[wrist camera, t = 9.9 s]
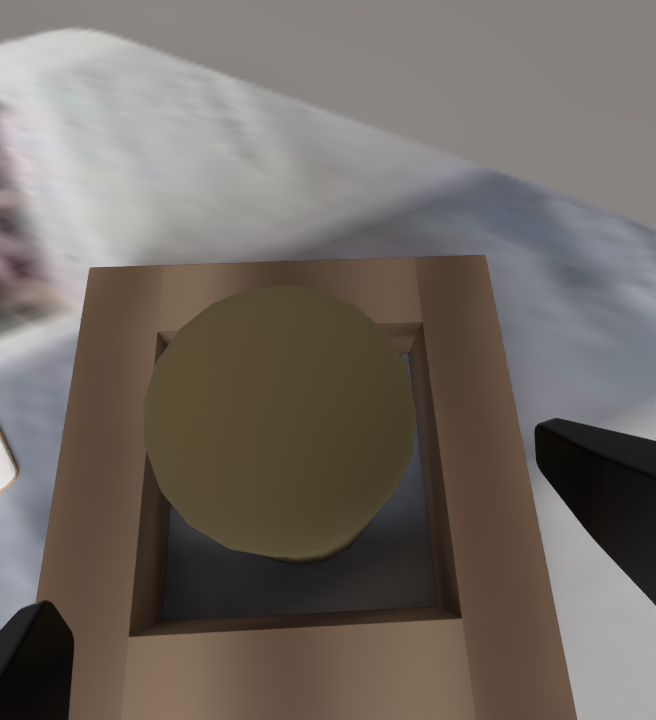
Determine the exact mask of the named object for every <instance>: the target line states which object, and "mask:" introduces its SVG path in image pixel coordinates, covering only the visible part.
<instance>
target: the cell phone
mask: <svg viewBox="0 0 656 720" xmlns="http://www.w3.org/2000/svg"><path fill="white" fill-rule="evenodd" d="M17 476H18V469H17V467H16V464H15V462H14V460H13V458H12V456H11V453H10V451H9V449H8V447H7V445H6V442H5V440H4V438H3V436H2V434H1V431H0V491H2V490H4V489H5V488H6V487H8V486H9V485H10V484H12V483H13V482H14V481H15V480H16V478H17Z"/></svg>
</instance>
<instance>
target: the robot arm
mask: <svg viewBox="0 0 656 720" xmlns="http://www.w3.org/2000/svg"><path fill="white" fill-rule="evenodd" d="M534 434H535V452H536V462H537V465H538V467H539V469H540V471H541V472H542V474H543V475H544V476H545V478H546V479H547V480H548V482H549V483H550V484H551V485H552V487H553V488H554V489H555V491H556V492H557V493H558V495H559V496H560V497H561V498H562V500H563V501H564V502H565V504H566V505H567V506H568V507H569V509H570V510H571V511H572V513H573V514H574V515H575V517H576V518H577V519H578V520H579V522H580V523H581V524H582V526H583V527H584V528H585V529H586V531H587V532H588V533H589V534H590V535H591V537H592V538H593V539H594V540H595V541H596V542H597V543H598V544H599V546H600V547H601V548H602V549H603V550H604V551H605V552H606V553H607V554H608V555H609V556H610V557H611V558H612V559H613V560H614V562H615V563H616V564H617V565H618V566H619V567H620V568H621V569H622V570H623V571H624V572H625V573H626V574H627V575H628V576H629V577H630V579H631V580H632V581H633V582H634V583H635V584H636V585H637V586H638V587H639V588H640V589H641V590H642V591H643V592H644V593H645V594H646V595H647V597H648V598H649V599H650V600H651V601H652V602H653V603H654V604H655V605H656V441H654V440H650V439H645V438H641V437H637V436H632V435H628V434H624V433H620V432H615V431H611V430H607V429H602V428H598V427H594V426H589V425H585V424H581V423H577V422H572V421H568V420H564V419H559V418H554V419H550V420H548V421H545V422H542V423H539V424H538V425H537V426H536V427H535V432H534ZM73 659H74V637H73V633H72V631H71V629H70V628H69V626H68V625H67V623H66V622H65V620H64V619H63V617H62V616H61V614H60V613H59V611H58V610H57V608H56V607H55V605H54V604H53V603H52V602H50V601H48V600H43V601H40V602H37V603H34V604H31V605H29V606H26V607H24V608H22V609H20V610H19V611H18V612H17V613H16V614H15V615H14V616H13V617H12V618H11V619H10V620H9V621H8V623H7V624H6V625H5V626H4V627H3V628H2V629H1V630H0V720H69V711H70V698H71V685H72V672H73Z"/></svg>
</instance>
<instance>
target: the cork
mask: <svg viewBox="0 0 656 720" xmlns="http://www.w3.org/2000/svg"><path fill="white" fill-rule="evenodd" d="M416 414H417V412H416V407H415V402H414V398H413V393H412V389H411V385H410V380H409V376H408V371H407V367H406V364H405V363H404V361H403V359H402V358H401V356H400V354H399V353H398V351H397V349H396V348H395V346H394V344H393V343H392V341H391V339H390V338H389V336H388V334H387V333H386V331H384V330H383V329H382V328H381V327H380V326H379V325H378V324H377V323H375V322H374V321H373V320H372V319H371V318H370V317H369V316H368V315H366V314H365V313H364V312H363V311H362V310H361V309H360V308H359V307H357V306H355V305H353V304H351V303H349V302H346V301H344V300H342V299H340V298H338V297H336V296H333V295H331V294H329V293H327V292H325V291H322V290H315V289H309V288H302V287H295V286H289V285H279V286H270V287H262V288H254V289H247V290H244V291H242V292H239V293H237V294H235V295H232V296H230V297H227V298H225V299H223V300H220V301H218V302H215V303H213V304H211V305H210V306H208V307H207V308H206V309H205V310H203V311H202V312H201V313H200V314H198V315H197V316H196V317H195V318H193V319H192V320H191V321H189V322H188V323H187V324H186V325H184V326H183V327H182V328H181V329H179V331H178V332H177V334H176V335H175V336H174V338H173V339H172V341H171V342H170V344H169V345H168V346H167V348H166V349H165V351H164V352H163V353H162V355H161V356H160V358H159V359H158V361H157V362H156V364H155V367H154V370H153V374H152V377H151V380H150V383H149V386H148V389H147V392H146V395H145V398H144V401H143V415H144V446H145V449H146V451H147V454H148V457H149V460H150V462H151V465H152V468H153V471H154V474H155V476H156V479H157V482H158V485H159V487H160V490H161V492H162V493H163V495H164V496H165V497H166V498H167V499H168V501H169V502H170V503H171V504H172V505H173V507H174V508H175V509H176V510H177V511H178V513H179V514H180V515H181V516H182V517H183V519H184V520H185V521H186V522H187V523H188V525H189V526H190V527H192V528H194V529H195V530H197V531H199V532H201V533H202V534H204V535H206V536H207V537H209V538H211V539H213V540H214V541H216V542H218V543H220V544H221V545H223V546H225V547H226V548H228V549H231V550H237V551H242V552H248V553H253V554H259V555H264V556H267V557H269V558H271V559H272V560H276V561H282V562H287V563H293V564H298V565H300V564H306V563H312V562H318V561H324V560H327V559H329V558H330V557H332V556H334V555H336V554H338V553H340V552H342V551H343V550H345V549H347V548H349V547H350V546H351V545H352V544H353V542H354V541H355V540H356V539H357V538H358V537H359V536H360V535H361V534H362V533H363V532H364V531H365V530H366V528H367V527H368V524H369V522H370V520H371V519H372V518H373V517H374V516H375V515H376V514H377V513H378V511H379V510H380V509H381V508H382V507H383V506H384V505H385V504H386V503H387V502H388V501H389V500H390V499H391V498H392V496H393V495H394V494H395V492H396V490H397V488H398V485H399V483H400V481H401V479H402V477H403V474H404V472H405V470H406V468H407V465H408V463H409V461H410V459H411V457H412V454H413V444H414V434H415V424H416Z"/></svg>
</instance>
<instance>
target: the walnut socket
mask: <svg viewBox="0 0 656 720" xmlns="http://www.w3.org/2000/svg"><path fill="white" fill-rule="evenodd" d="M279 285H289V286H295V287H302V288H309V289H315V290H322V291H325V292H327V293H329V294H331V295H333V296H336V297H338V298H340V299H342V300H344V301H346V302H349V303H351V304H353V305H355V306H357V307H359V308H360V309H361V310H362V311H363V312H364V313H365V314H366V315H368V316H369V317H370V318H371V319H372V320H373V321H374V322H375V323H377V324H378V325H379V326H380V327H381V328H382V329H383V330H384V331H386V333H387V334H388V336H389V338H390V339H391V341H392V343H393V344H394V346H395V348H396V349H397V351H398V353H399V354H405V353H408V354H409V362H410V371H411V379H412V388H413V396H414V402H415V407H416V412H417V414H416V422H417V430H418V439H419V447H420V456H421V464H422V473H423V481H424V490H425V498H426V507H427V515H428V524H429V532H430V541H431V549H432V558H433V566H434V575H435V583H436V592H437V600H438V606H437V607H419V608H401V609H382V610H364V611H345V612H327V613H308V614H290V615H271V616H253V617H234V618H216V619H197V620H179V621H162V613H163V599H164V586H165V572H166V558H167V544H168V531H169V517H170V502H169V501H168V499H167V498H166V497H165V496H164V495H163V493H162V492H161V490H160V487H159V485H158V482H157V479H156V476H155V474H154V471H153V468H152V465H151V462H150V460H149V457H148V454H147V451H146V449H145V446H144V415H143V401H144V398H145V395H146V392H147V389H148V386H149V383H150V380H151V377H152V374H153V370H154V367H155V364H156V362H157V361H158V359H159V358H160V356H161V355H162V353H163V352H164V351H165V349H166V348H167V346H168V345H169V344H170V342H171V341H172V339H173V338H174V336H175V335H176V334H177V332H178V331H179V329H181V328H182V327H183V326H184V325H186V324H187V323H188V322H189V321H191V320H192V319H193V318H195V317H196V316H197V315H198V314H200V313H201V312H202V311H203V310H205V309H206V308H207V307H208V306H210V305H211V304H213V303H215V302H218V301H220V300H223V299H225V298H227V297H230V296H232V295H235V294H237V293H239V292H242V291H244V290H247V289H254V288H262V287H270V286H279ZM43 600H48V601H50V602H52V603H53V604H54V605H55V607H56V608H57V610H58V611H59V613H60V614H61V616H62V617H63V619H64V620H65V622H66V623H67V625H68V626H69V628H70V629H71V631H72V633H73V637H74V659H73V672H72V685H71V698H70V711H69V720H577V716H576V711H575V706H574V700H573V695H572V690H571V685H570V680H569V675H568V670H567V665H566V660H565V655H564V650H563V645H562V640H561V635H560V630H559V625H558V620H557V615H556V610H555V605H554V600H553V595H552V590H551V585H550V579H549V574H548V569H547V564H546V559H545V554H544V549H543V544H542V539H541V534H540V529H539V524H538V519H537V514H536V509H535V504H534V499H533V494H532V489H531V484H530V479H529V474H528V469H527V464H526V458H525V453H524V448H523V443H522V438H521V433H520V428H519V423H518V418H517V413H516V408H515V403H514V398H513V393H512V388H511V383H510V378H509V373H508V368H507V363H506V358H505V353H504V348H503V343H502V338H501V332H500V327H499V322H498V317H497V312H496V307H495V302H494V297H493V292H492V287H491V282H490V277H489V272H488V267H487V262H486V257H485V255H467V256H436V257H405V258H374V259H342V260H311V261H280V262H249V263H218V264H187V265H156V266H125V267H94V268H90V269H89V275H88V281H87V287H86V294H85V300H84V306H83V312H82V319H81V325H80V331H79V337H78V343H77V350H76V356H75V362H74V368H73V374H72V381H71V387H70V393H69V399H68V405H67V412H66V418H65V424H64V430H63V437H62V443H61V449H60V455H59V461H58V468H57V474H56V480H55V486H54V492H53V499H52V505H51V511H50V517H49V523H48V530H47V536H46V542H45V548H44V555H43V561H42V567H41V573H40V579H39V586H38V592H37V598H36V603H37V602H40V601H43Z"/></svg>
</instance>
